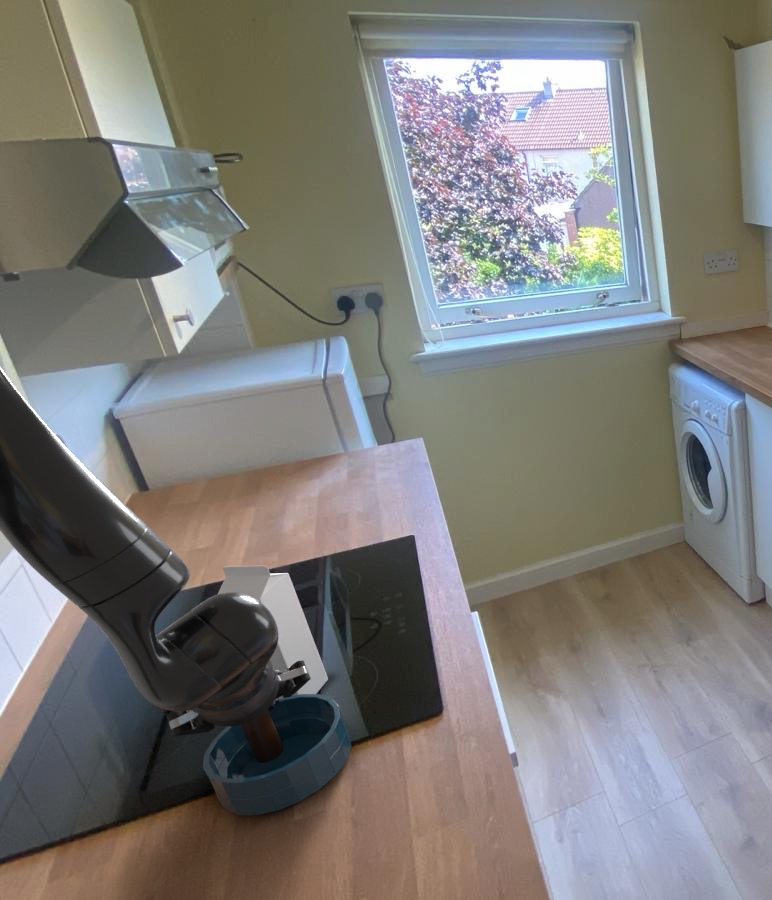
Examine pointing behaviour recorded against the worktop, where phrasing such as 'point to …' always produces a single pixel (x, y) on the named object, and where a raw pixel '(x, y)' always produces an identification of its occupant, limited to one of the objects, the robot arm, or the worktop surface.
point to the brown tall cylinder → (263, 738)
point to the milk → (280, 619)
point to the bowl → (280, 757)
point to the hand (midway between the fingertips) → (251, 709)
